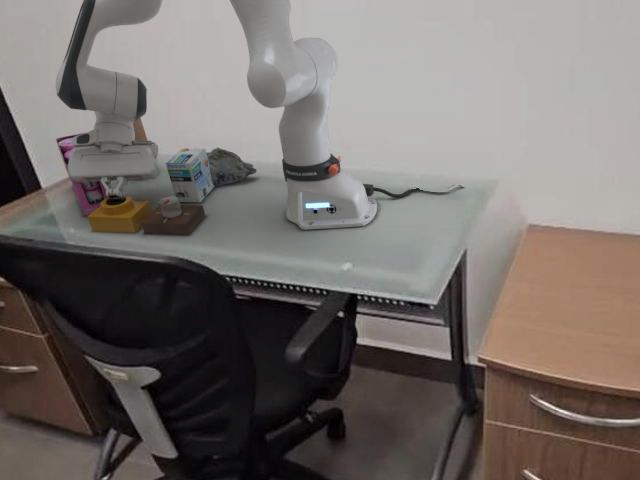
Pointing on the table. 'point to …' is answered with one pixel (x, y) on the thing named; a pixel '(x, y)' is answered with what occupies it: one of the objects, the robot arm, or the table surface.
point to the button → (115, 200)
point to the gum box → (85, 191)
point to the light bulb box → (190, 174)
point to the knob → (170, 207)
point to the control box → (120, 216)
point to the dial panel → (174, 221)
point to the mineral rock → (227, 167)
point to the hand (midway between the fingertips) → (113, 196)
